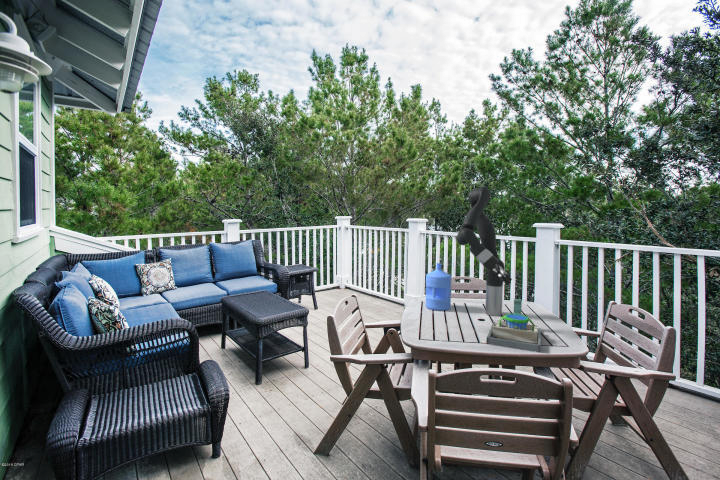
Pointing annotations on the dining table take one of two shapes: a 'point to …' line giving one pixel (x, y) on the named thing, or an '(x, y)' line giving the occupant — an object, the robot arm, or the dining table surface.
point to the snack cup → (516, 321)
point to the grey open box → (515, 333)
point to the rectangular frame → (513, 342)
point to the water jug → (438, 290)
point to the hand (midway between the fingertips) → (510, 282)
